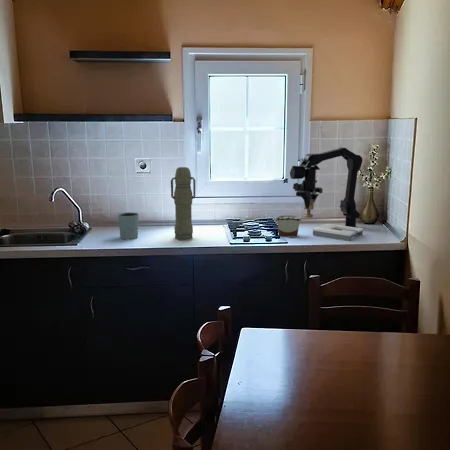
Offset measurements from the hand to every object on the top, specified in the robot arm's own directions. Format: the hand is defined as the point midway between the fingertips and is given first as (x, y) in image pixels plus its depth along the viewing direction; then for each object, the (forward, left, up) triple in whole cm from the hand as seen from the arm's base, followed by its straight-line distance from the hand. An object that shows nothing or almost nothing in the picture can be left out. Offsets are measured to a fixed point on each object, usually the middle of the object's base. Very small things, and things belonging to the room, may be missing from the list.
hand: (308, 208), depth 279 cm
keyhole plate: (0, +17, -12) cm, 21 cm away
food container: (+16, -3, -12) cm, 20 cm away
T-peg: (0, 0, -5) cm, 5 cm away
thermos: (+53, -41, -12) cm, 68 cm away
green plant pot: (+69, -63, -12) cm, 94 cm away
